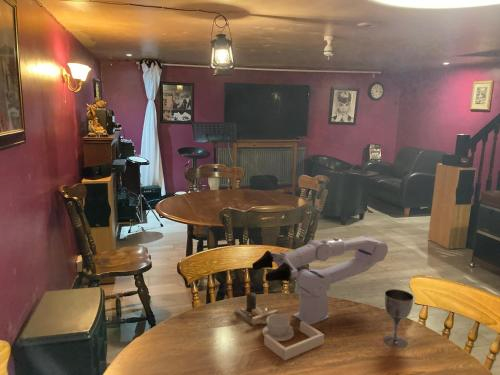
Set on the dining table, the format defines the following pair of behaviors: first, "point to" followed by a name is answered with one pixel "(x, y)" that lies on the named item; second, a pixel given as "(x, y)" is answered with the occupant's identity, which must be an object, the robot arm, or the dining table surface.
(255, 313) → the pushrod
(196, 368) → the dining table surface
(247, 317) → the rail
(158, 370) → the dining table surface
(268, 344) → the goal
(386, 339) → the wine glass
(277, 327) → the teacup
